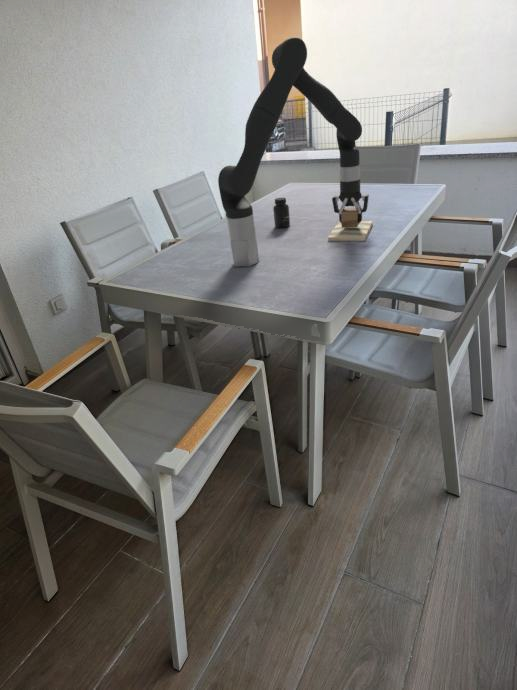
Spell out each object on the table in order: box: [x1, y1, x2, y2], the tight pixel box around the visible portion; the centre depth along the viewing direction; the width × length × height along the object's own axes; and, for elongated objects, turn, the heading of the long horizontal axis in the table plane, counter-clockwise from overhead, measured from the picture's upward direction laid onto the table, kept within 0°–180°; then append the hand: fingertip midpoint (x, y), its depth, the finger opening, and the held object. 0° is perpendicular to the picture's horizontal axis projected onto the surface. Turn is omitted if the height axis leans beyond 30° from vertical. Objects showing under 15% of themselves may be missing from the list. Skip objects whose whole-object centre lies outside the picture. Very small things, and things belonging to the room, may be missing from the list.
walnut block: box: [341, 207, 359, 228], centre depth 173 cm, size 6×6×6 cm
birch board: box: [327, 220, 374, 242], centre depth 176 cm, size 20×14×2 cm
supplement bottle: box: [272, 197, 291, 229], centre depth 193 cm, size 7×7×12 cm
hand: (350, 222), depth 174 cm, fingers closed on walnut block, 6 cm apart
